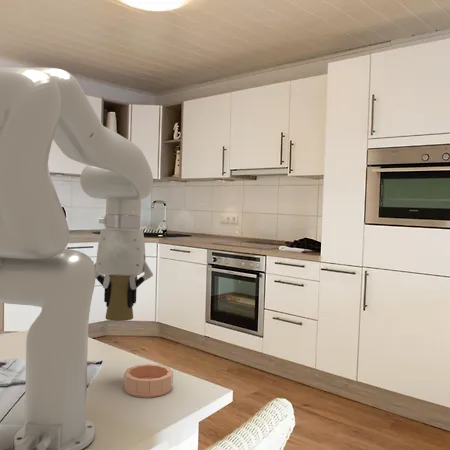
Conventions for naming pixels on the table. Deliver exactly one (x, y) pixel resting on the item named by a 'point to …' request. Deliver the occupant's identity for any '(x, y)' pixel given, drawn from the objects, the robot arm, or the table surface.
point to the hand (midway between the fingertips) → (120, 305)
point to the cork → (119, 299)
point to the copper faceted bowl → (148, 380)
